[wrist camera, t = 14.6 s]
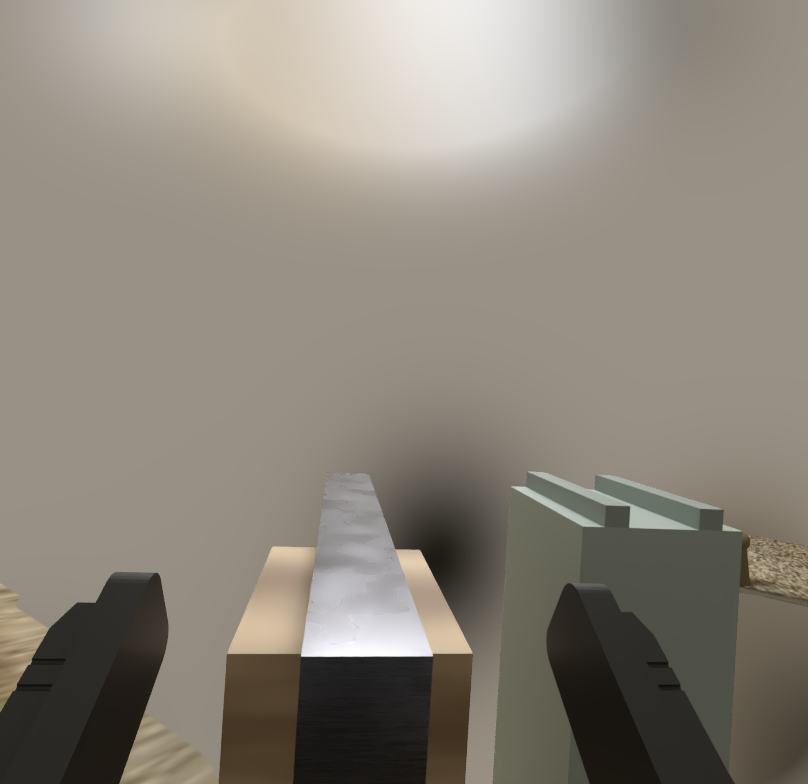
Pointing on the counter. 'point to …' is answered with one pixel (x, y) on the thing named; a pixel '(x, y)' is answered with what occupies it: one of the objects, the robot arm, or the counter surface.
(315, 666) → the lever bar
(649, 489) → the frame
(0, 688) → the counter surface
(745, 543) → the cork
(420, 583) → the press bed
